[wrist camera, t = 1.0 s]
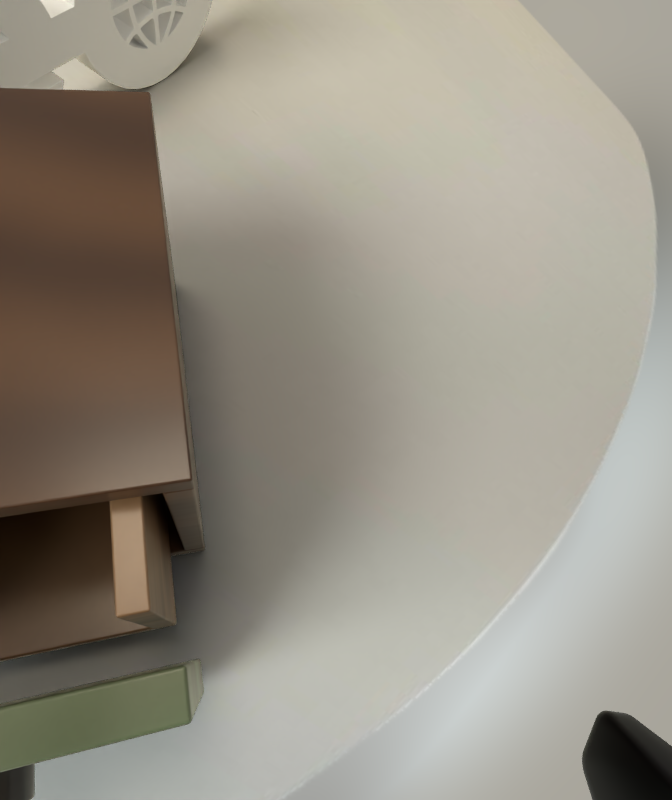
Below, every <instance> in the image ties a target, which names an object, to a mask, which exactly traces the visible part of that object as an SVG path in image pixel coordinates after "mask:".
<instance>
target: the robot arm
mask: <svg viewBox="0 0 672 800" xmlns="http://www.w3.org/2000/svg"><path fill="white" fill-rule="evenodd" d="M582 764H583V770H584V774H585V777H586V780H587V784H588V787H589V790H590V793H591V796H592V799H593V800H672V746H671V745H669V744H668V743H667V742H665V741H664V740H663V739H661V738H660V737H659V736H657V735H656V734H655V733H653V732H652V731H651V730H649V729H648V728H647V727H645V726H644V725H643V724H641V723H640V722H639V721H638V720H636V719H635V718H634V717H632V716H630V715H628V714H625V713H619V712H612V711H602V712H601V713H600V714H599V715H598V716H597V718H596V720H595V722H594V725H593V728H592V730H591V733H590V735H589V738H588V740H587V743H586V746H585V748H584V751H583V757H582Z"/></svg>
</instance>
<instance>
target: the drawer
mask: <svg viewBox="0 0 672 800" xmlns="http://www.w3.org/2000/svg"><path fill="white" fill-rule="evenodd" d="M176 623H177V619H176V608H175V597H174V586H173V575H172V564H171V553H170V541H169V530H168V519H167V508H166V500H165V498H164V495H163V493H159V494H153V495H146V496H139V497H133V498H126V499H119V500H113V501H106V502H99V503H92V504H86V505H79V506H72V507H66V508H59V509H52V510H46V511H39V512H32V513H26V514H19V515H12V516H6V517H0V662H2V661H7V660H12V659H16V658H21V657H26V656H31V655H36V654H40V653H45V652H50V651H55V650H59V649H64V648H69V647H74V646H78V645H83V644H88V643H93V642H97V641H102V640H107V639H112V638H116V637H121V636H126V635H131V634H135V633H140V632H145V631H150V630H155V629H159V628H164V627H169V626H174V625H176ZM203 693H204V687H203V678H202V668H201V660H200V659H195V660H190V661H186V662H181V663H177V664H173V665H168V666H164V667H159V668H155V669H151V670H146V671H142V672H137V673H133V674H129V675H124V676H120V677H115V678H111V679H107V680H102V681H98V682H94V683H89V684H85V685H80V686H76V687H72V688H67V689H63V690H58V691H54V692H50V693H45V694H41V695H36V696H32V697H28V698H23V699H19V700H14V701H10V702H6V703H1V704H0V800H30V799H32V798H33V797H34V795H35V763H38V762H42V761H46V760H50V759H54V758H58V757H62V756H66V755H70V754H74V753H78V752H81V751H85V750H89V749H93V748H97V747H101V746H105V745H109V744H113V743H117V742H121V741H124V740H128V739H132V738H136V737H140V736H144V735H148V734H152V733H156V732H160V731H164V730H167V729H171V728H175V727H179V726H183V725H187V724H189V723H190V722H191V721H192V718H193V716H194V714H195V711H196V709H197V707H198V704H199V702H200V700H201V698H202V695H203Z"/></svg>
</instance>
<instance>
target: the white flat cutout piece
mask: <svg viewBox="0 0 672 800" xmlns="http://www.w3.org/2000/svg"><path fill="white" fill-rule="evenodd" d="M211 4H212V0H0V88H22V89H57V90H63V85H64V80H63V79H62V78H61V77H59V76H58V75H56V74H55V73H53V72H52V71H53V70H54V69H56V68H58V67H60V66H62V65H63V64H65V63H67V62H69V61H71V60H72V59H74V58H76V59H77V60H78V61H79V62H81V63H82V64H84V65H85V66H87V67H88V68H90V69H91V70H93V71H94V72H96V73H97V74H98V75H100V76H101V77H103V78H104V79H106V80H107V81H109V82H110V83H112V84H114V85H116V86H119V87H122V88H126V89H141V88H145V87H148V86H152V85H154V84H156V83H158V82H160V81H161V80H163V79H165V78H166V77H167V76H169V75H170V74H171V73H172V72H173V71H174V70H176V69H177V68H178V66H179V65H180V64H181V63H182V62H183V61H184V60H185V59H186V57H187V56H188V54H189V53H190V51H191V50H192V48H193V47H194V45H195V43H196V41H197V40H198V38H199V36H200V34H201V32H202V29H203V27H204V25H205V22H206V20H207V17H208V14H209V11H210V8H211Z"/></svg>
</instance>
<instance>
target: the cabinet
mask: <svg viewBox="0 0 672 800" xmlns="http://www.w3.org/2000/svg"><path fill="white" fill-rule="evenodd" d="M159 493H163V495H164V498H165V500H166V508H167V519H168V530H169V541H170V553H171V556H177V555H182V554H188V553H193V552H199V551H204V550H205V543H204V534H203V525H202V516H201V508H200V499H199V490H198V481H197V472H196V464H195V455H194V446H193V437H192V428H191V420H190V411H189V402H188V393H187V385H186V376H185V367H184V358H183V349H182V341H181V332H180V323H179V314H178V305H177V297H176V288H175V279H174V272H173V264H172V256H171V249H170V241H169V233H168V226H167V218H166V210H165V203H164V195H163V187H162V180H161V172H160V164H159V157H158V149H157V141H156V134H155V126H154V118H153V111H152V103H151V95H150V93H149V92H127V91H92V90H57V89H22V88H0V517H6V516H12V515H19V514H26V513H32V512H39V511H46V510H52V509H59V508H66V507H72V506H79V505H86V504H92V503H99V502H106V501H113V500H119V499H126V498H133V497H139V496H146V495H153V494H159Z"/></svg>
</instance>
